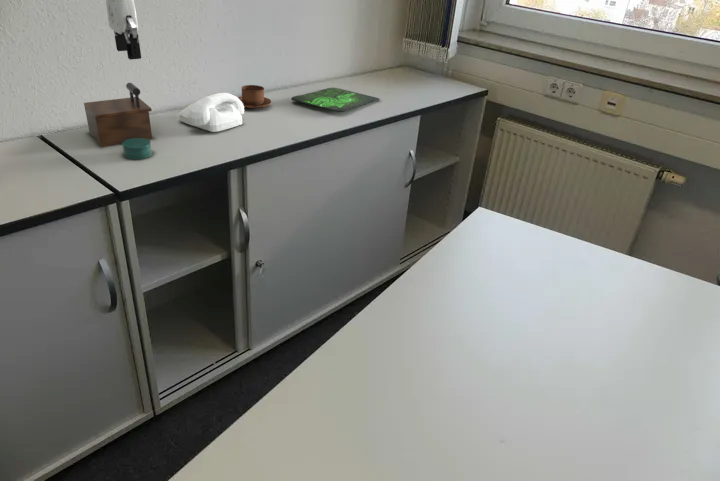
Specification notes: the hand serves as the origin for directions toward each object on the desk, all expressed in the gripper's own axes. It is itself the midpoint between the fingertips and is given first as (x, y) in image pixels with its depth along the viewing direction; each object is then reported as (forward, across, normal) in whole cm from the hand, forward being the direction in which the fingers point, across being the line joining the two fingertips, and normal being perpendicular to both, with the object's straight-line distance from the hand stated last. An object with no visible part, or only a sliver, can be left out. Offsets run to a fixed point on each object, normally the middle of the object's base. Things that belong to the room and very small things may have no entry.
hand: (129, 54), depth 143 cm
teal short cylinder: (+22, +15, -5) cm, 27 cm away
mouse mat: (+22, -2, +69) cm, 73 cm away
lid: (+14, 0, -5) cm, 15 cm away
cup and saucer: (+22, -9, +40) cm, 47 cm away
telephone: (+22, +1, +21) cm, 30 cm away
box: (+22, 0, -5) cm, 22 cm away
